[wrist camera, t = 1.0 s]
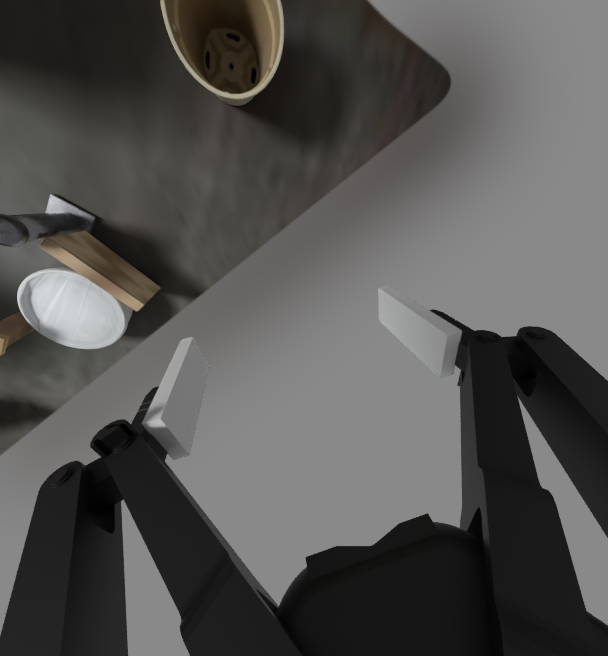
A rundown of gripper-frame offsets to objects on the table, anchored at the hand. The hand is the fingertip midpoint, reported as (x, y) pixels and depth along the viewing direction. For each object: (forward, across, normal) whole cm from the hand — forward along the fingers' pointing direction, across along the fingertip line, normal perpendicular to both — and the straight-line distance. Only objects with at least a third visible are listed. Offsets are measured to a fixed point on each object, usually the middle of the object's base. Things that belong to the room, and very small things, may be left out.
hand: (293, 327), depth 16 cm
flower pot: (+24, +1, +20) cm, 31 cm away
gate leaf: (+23, -20, +4) cm, 30 cm away
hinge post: (+23, -23, +10) cm, 34 cm away
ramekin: (+24, -26, 0) cm, 35 cm away
